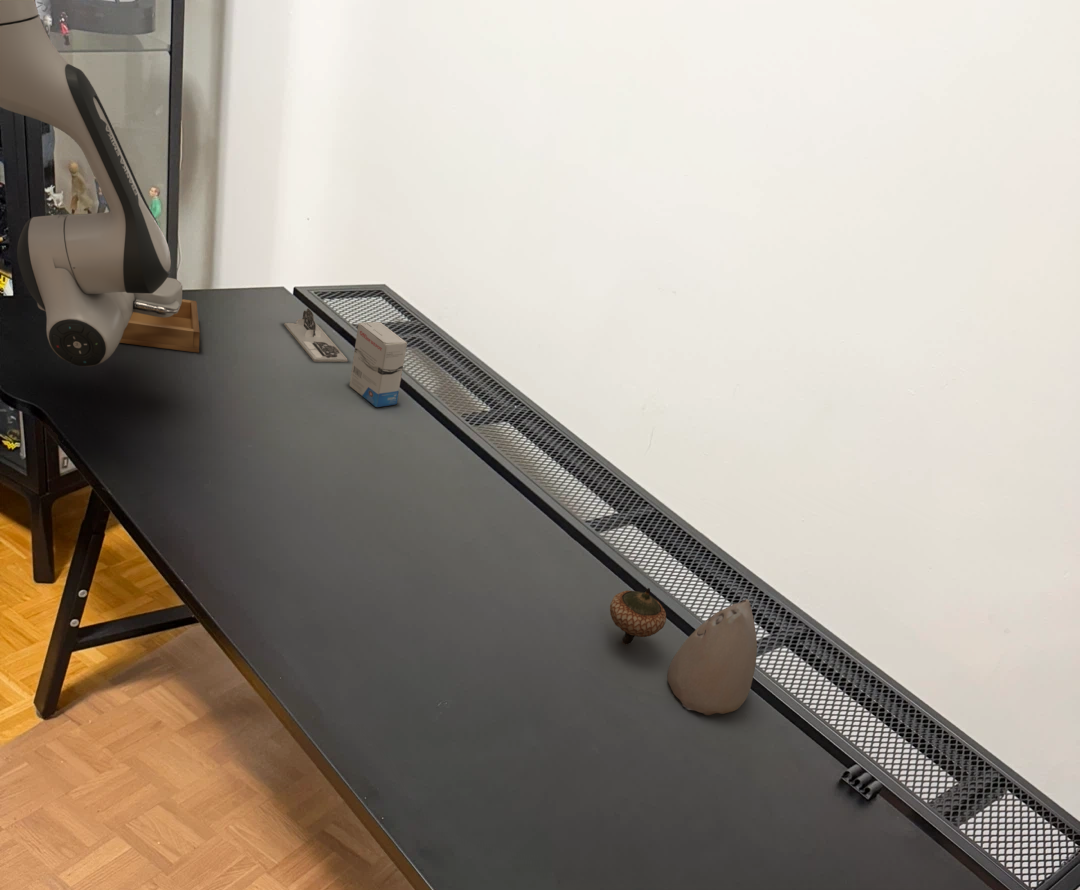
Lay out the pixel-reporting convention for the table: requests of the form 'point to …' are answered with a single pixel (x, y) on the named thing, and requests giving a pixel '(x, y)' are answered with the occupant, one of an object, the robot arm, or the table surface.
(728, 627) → the sculpture
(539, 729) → the table surface
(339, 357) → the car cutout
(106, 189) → the robot arm
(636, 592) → the acorn
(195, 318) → the box
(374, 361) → the ink box
